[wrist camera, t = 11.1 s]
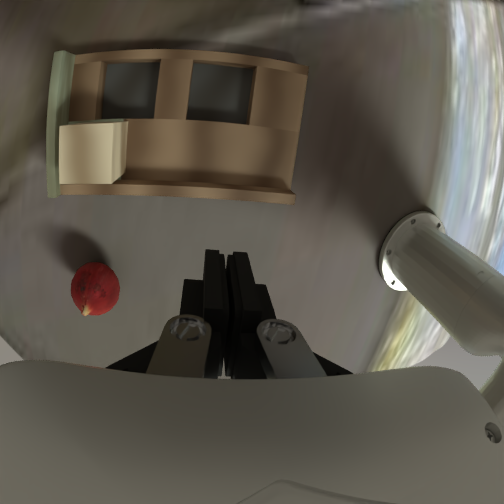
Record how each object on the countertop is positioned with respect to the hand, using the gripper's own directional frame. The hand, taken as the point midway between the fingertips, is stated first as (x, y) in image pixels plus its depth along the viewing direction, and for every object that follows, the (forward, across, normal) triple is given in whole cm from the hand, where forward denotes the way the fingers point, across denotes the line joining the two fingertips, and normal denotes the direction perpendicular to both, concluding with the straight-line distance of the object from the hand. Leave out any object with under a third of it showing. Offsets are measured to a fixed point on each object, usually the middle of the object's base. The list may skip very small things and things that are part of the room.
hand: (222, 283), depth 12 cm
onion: (+20, +13, +12) cm, 27 cm away
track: (+20, +5, -6) cm, 22 cm away
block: (+18, +12, -3) cm, 21 cm away
